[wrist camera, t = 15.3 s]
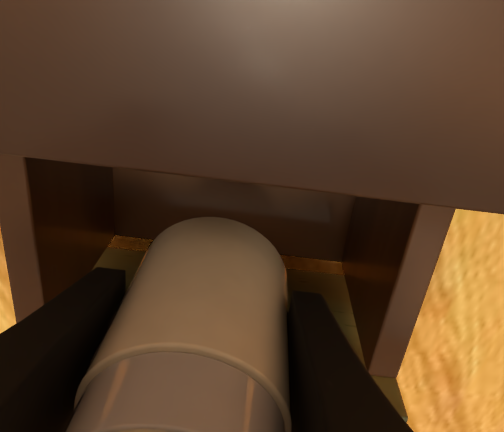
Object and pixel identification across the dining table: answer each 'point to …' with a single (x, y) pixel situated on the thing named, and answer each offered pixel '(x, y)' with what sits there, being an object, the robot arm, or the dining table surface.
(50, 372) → the robot arm
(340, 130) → the cabinet
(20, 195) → the drawer
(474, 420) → the dining table surface
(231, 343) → the salt shaker
